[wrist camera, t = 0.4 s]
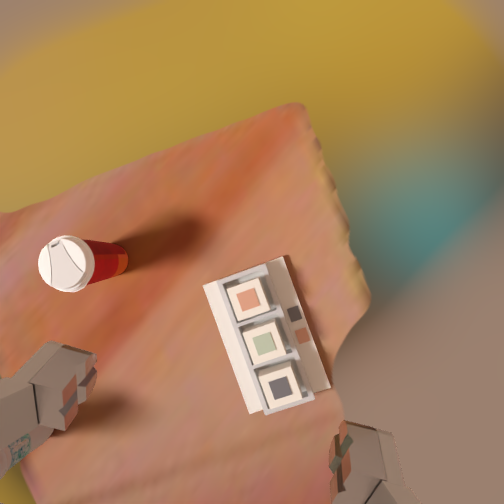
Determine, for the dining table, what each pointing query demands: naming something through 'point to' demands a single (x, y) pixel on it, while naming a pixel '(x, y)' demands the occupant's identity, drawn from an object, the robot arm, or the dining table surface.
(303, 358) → the keypad base
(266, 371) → the charcoal key
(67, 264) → the coffee cup
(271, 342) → the sage key
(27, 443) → the bottle
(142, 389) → the dining table surface
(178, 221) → the dining table surface
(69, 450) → the dining table surface
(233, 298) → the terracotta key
